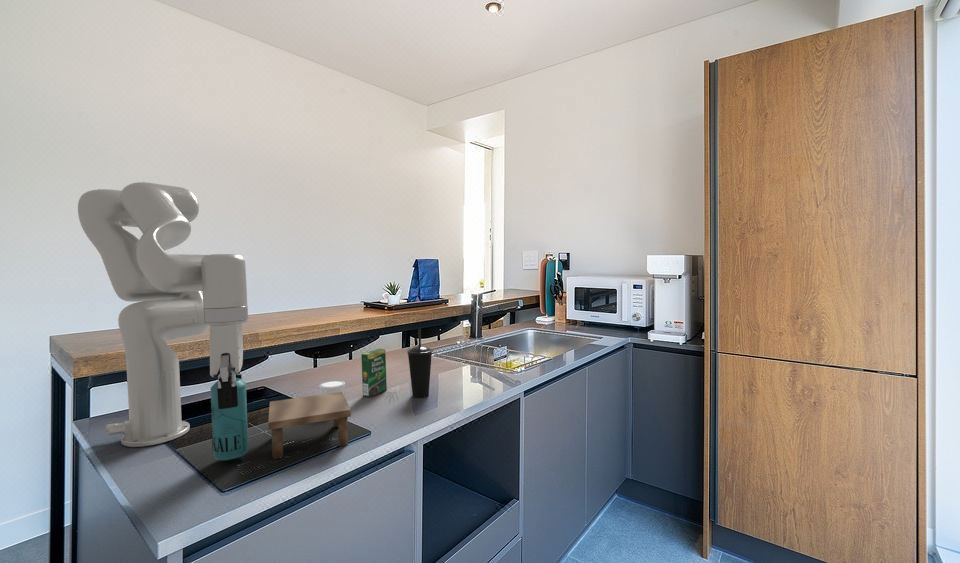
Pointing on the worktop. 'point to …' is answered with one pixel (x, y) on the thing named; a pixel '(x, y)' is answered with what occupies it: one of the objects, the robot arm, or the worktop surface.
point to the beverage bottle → (229, 425)
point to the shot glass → (332, 387)
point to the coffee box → (374, 372)
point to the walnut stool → (308, 416)
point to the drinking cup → (420, 369)
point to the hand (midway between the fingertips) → (231, 400)
